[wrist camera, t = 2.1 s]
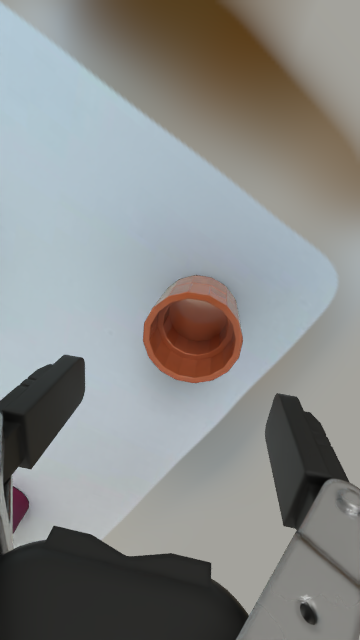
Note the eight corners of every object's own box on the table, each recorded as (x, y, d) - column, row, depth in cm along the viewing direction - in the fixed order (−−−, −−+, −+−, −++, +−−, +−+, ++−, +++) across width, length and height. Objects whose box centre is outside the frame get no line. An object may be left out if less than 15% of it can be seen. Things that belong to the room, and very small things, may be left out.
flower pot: (206, 257, 19) (201, 271, 14) (253, 321, 20) (261, 352, 15) (145, 303, 21) (124, 328, 16) (191, 359, 22) (182, 397, 17)
